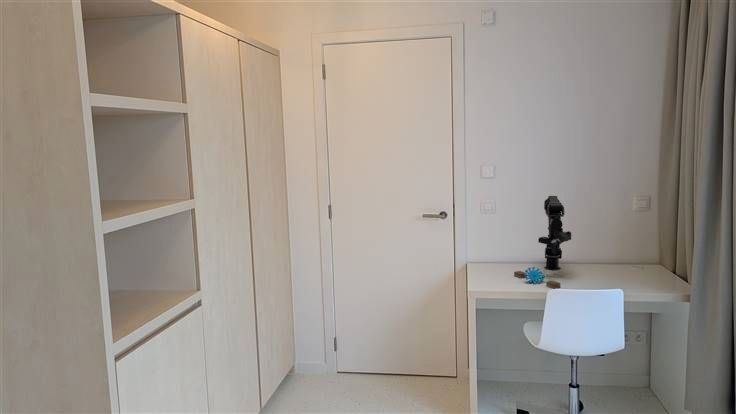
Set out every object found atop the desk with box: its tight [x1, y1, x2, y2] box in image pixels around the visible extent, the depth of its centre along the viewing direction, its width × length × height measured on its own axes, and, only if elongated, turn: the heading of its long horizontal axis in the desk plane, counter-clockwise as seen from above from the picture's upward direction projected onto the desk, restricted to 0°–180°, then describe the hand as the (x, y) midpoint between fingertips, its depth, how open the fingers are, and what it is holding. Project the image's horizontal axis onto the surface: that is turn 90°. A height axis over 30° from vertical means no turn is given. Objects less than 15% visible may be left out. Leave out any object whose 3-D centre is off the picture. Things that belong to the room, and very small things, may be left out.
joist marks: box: [513, 270, 561, 289], centre depth 286 cm, size 4×29×2 cm, turn 27°
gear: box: [524, 266, 547, 285], centre depth 286 cm, size 11×6×10 cm
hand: (554, 254), depth 296 cm, fingers closed
